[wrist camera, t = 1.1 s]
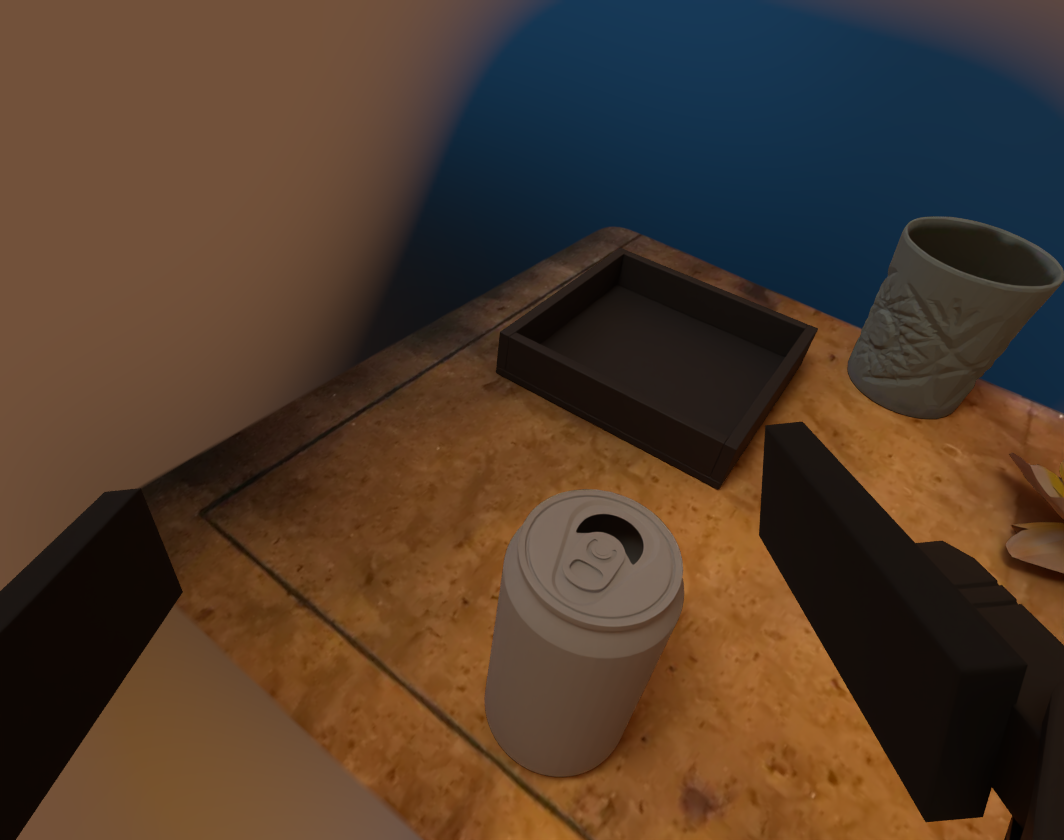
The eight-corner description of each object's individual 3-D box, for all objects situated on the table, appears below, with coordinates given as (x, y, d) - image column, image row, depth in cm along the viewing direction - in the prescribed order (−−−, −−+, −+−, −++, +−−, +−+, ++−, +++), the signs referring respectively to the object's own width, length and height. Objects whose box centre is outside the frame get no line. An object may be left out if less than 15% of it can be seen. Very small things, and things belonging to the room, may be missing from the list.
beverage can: (645, 693, 31) (722, 535, 24) (578, 818, 27) (646, 675, 19) (532, 621, 34) (568, 453, 26) (454, 726, 29) (468, 564, 21)
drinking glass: (976, 385, 55) (1072, 252, 47) (952, 448, 48) (1058, 305, 40) (855, 333, 58) (924, 202, 51) (817, 384, 52) (890, 244, 44)
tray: (495, 372, 48) (499, 331, 46) (612, 283, 60) (620, 247, 58) (718, 490, 42) (736, 449, 40) (800, 365, 54) (818, 328, 51)
